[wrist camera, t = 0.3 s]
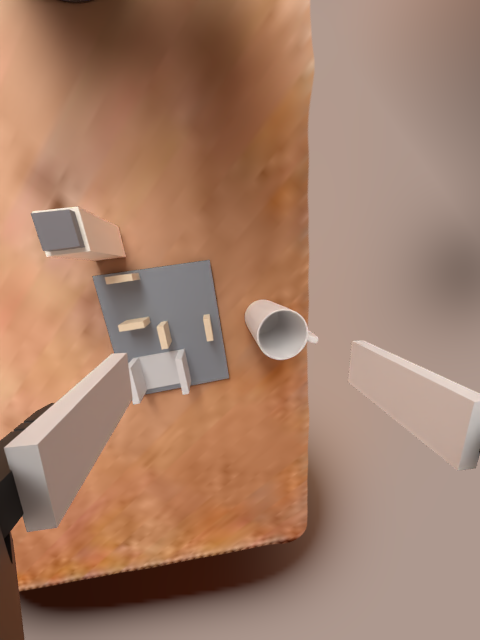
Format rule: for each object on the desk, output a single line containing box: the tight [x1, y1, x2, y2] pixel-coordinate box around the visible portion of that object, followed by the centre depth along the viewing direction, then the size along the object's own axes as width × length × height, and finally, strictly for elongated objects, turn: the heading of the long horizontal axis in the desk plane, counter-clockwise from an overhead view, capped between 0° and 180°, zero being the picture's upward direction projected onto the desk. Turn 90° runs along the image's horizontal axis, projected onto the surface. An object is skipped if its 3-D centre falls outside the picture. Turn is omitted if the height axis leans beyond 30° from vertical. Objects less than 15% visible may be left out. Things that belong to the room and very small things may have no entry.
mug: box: [245, 300, 318, 360], centre depth 35 cm, size 10×7×12 cm, turn 75°
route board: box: [92, 260, 229, 405], centre depth 36 cm, size 21×18×5 cm
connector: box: [31, 207, 126, 261], centre depth 29 cm, size 4×4×12 cm
